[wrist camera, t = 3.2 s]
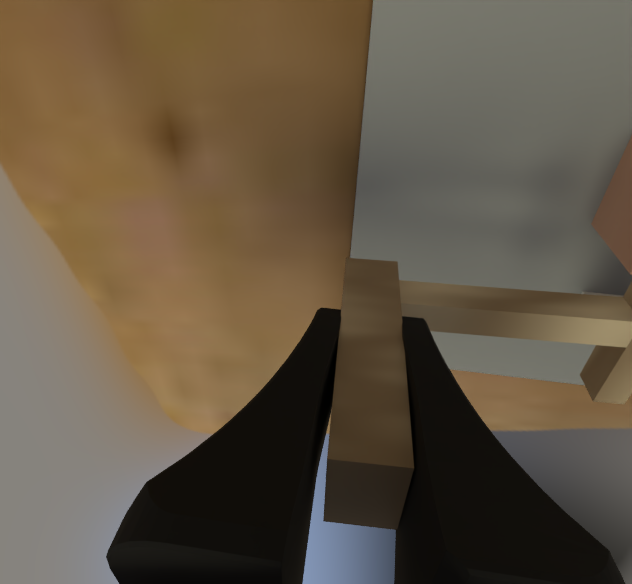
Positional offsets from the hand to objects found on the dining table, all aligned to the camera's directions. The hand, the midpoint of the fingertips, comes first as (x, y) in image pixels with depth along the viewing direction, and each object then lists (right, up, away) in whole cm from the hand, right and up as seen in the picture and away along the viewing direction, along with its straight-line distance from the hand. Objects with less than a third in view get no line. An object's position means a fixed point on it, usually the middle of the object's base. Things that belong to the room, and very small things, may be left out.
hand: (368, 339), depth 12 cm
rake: (+4, +1, +2) cm, 5 cm away
